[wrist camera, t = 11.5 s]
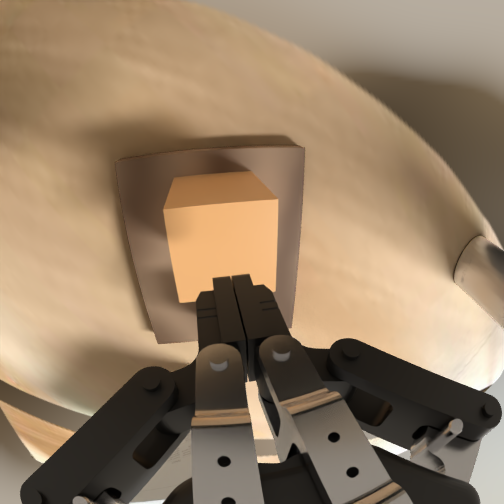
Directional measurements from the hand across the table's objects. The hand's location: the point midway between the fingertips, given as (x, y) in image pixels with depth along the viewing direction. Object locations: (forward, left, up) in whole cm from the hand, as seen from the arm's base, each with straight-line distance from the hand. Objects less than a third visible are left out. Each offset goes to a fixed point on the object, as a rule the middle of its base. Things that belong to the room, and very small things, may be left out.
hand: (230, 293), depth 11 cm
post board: (0, +5, -12) cm, 13 cm away
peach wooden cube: (0, 0, -10) cm, 10 cm away
